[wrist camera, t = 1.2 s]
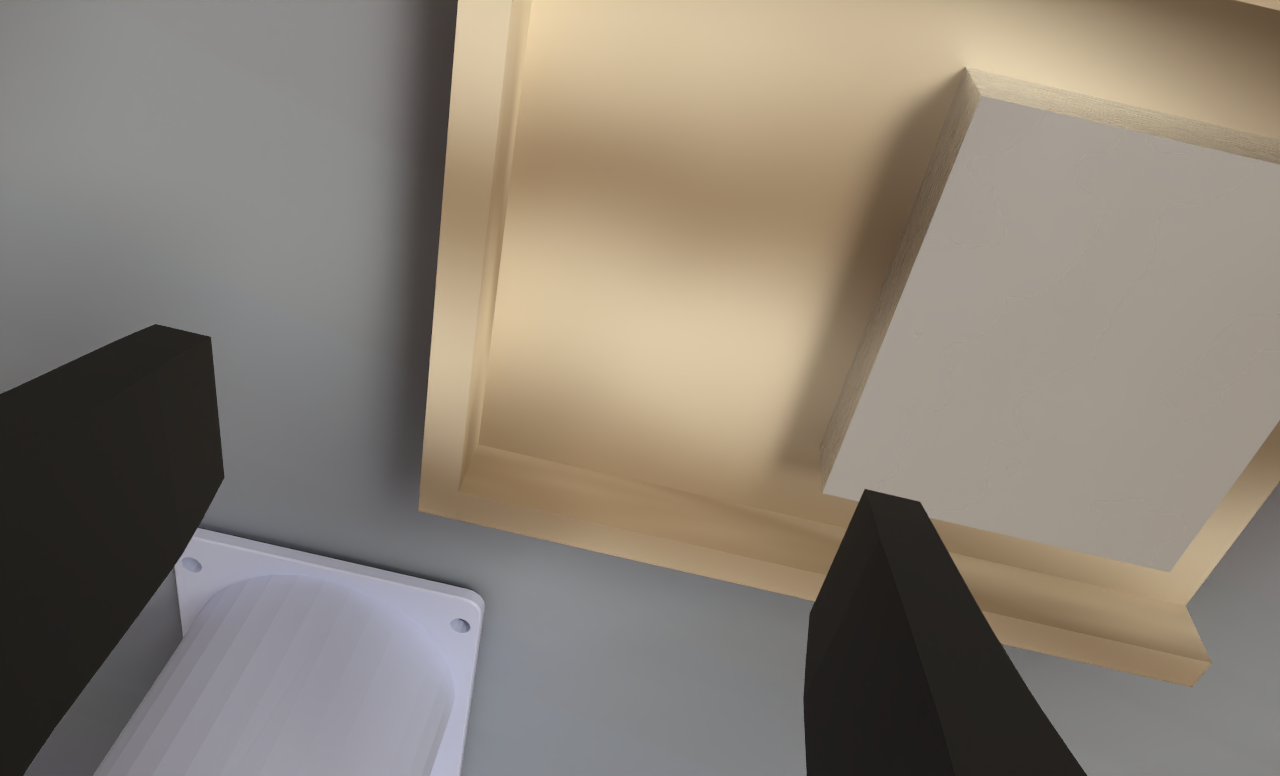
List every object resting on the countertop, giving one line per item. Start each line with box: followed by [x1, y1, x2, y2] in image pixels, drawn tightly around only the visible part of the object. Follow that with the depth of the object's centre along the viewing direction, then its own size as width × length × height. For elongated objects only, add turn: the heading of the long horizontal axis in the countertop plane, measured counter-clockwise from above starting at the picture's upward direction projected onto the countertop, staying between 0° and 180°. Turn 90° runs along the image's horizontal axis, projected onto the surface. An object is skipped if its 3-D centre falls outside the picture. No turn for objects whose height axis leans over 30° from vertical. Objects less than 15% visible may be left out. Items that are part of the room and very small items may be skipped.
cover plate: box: [820, 67, 1280, 573], centre depth 17 cm, size 8×7×2 cm
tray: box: [418, 0, 1280, 687], centre depth 17 cm, size 14×17×2 cm
